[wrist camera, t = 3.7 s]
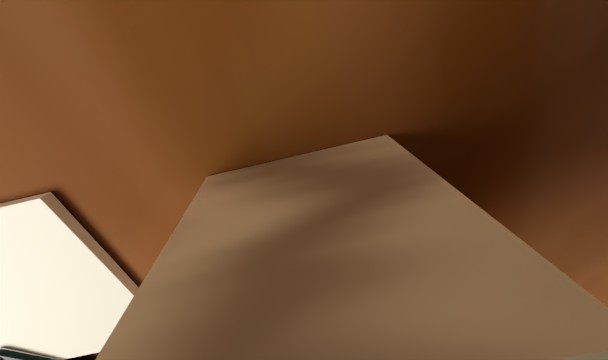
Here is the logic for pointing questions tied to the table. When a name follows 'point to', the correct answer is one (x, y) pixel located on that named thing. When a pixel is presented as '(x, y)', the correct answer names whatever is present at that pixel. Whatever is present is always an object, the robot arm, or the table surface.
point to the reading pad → (56, 282)
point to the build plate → (21, 355)
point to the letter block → (351, 272)
